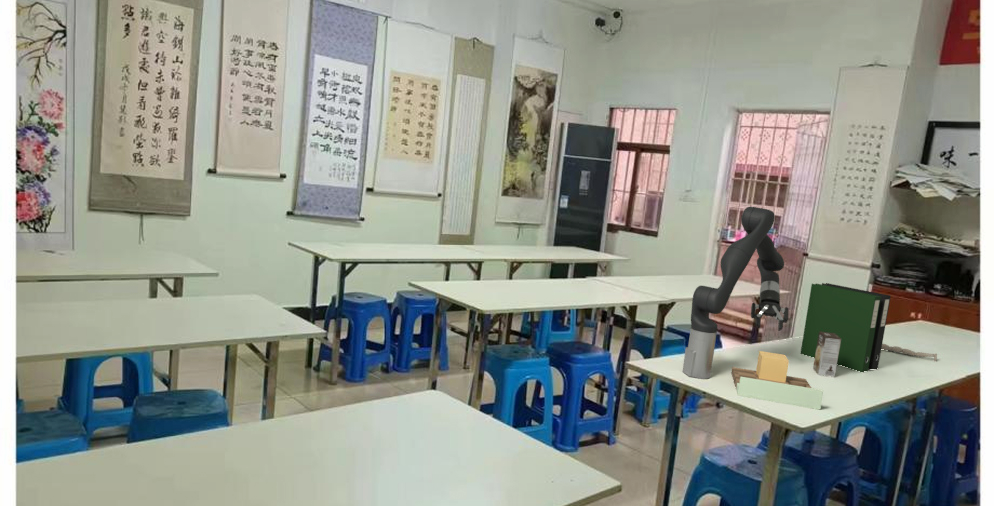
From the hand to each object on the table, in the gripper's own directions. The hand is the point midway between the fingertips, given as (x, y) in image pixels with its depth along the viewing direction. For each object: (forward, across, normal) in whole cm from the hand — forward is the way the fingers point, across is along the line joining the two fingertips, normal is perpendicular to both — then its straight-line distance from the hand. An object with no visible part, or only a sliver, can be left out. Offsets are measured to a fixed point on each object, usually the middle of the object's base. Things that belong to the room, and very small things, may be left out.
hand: (769, 328), depth 261 cm
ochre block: (+24, 0, -4) cm, 25 cm away
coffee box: (+6, +24, +19) cm, 31 cm away
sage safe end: (+39, 0, -16) cm, 42 cm away
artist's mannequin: (-39, +70, +65) cm, 103 cm away
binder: (-13, +35, +37) cm, 53 cm away
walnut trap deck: (+32, 0, -8) cm, 33 cm away
